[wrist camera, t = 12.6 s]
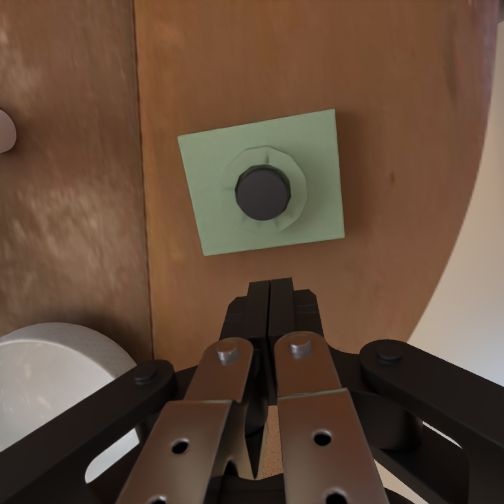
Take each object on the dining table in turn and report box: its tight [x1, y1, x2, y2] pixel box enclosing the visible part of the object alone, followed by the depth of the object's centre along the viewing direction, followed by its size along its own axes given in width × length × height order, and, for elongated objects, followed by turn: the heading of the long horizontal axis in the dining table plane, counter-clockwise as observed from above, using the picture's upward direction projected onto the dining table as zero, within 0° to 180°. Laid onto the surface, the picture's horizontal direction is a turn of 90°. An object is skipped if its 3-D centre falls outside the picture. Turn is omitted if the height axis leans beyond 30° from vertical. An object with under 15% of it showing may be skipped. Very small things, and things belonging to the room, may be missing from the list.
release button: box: [237, 168, 288, 221], centre depth 26 cm, size 4×4×2 cm
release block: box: [177, 109, 345, 256], centre depth 28 cm, size 12×10×4 cm
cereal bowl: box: [0, 322, 139, 483], centre depth 35 cm, size 17×17×7 cm
